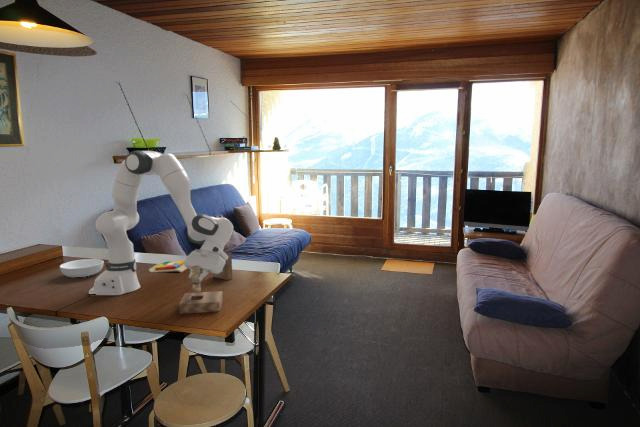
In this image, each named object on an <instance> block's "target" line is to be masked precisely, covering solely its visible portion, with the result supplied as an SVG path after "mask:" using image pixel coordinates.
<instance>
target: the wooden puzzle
mask: <svg viewBox="0 0 640 427" xmlns="http://www.w3.org/2000/svg"><path fill="white" fill-rule="evenodd" d="M184 261H185V260H176V261H175V260H173V261H165V262H164V261H161V262H159V263H156V265H153V266H152V267H150V268H149V269H148V272H149V273H171V272H179V273H183V272H184V271H185V270H187V269H188V268H187V267H185V266H184Z"/></svg>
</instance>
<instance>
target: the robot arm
mask: <svg viewBox="0 0 640 427" xmlns="http://www.w3.org/2000/svg"><path fill="white" fill-rule="evenodd" d="M115 175H116V176H115V180H114V183H113V184H114V185H113V187H112V192H111V197H112V200H113V201H114V206H113V207H114V208H113V210H110V211H106V212H104V213H102V214H100V215H99V216H98V217H97V218H96V220H95V229H96V230H97V232H98V233H99V234H100V235H101V236H102V237H103V239H104V240H105V244H106V245H107V246H106V247H107V252H108V260H107V261H106V263H105V264H103V267H104V268H105V270H104V271H103V272H101V273H100V274H99V275H98V276H97V277H96V278H95V280H94V282H93V287H91V288H90V290H88V295H89V294H96V295H95V296H121V295H123V294H127V293H131V292H136V291H138V290H139V289H140V288H141V284H140V281H139V278H138V275H137V262H136V259H135V251H134V250H135V249H134V243H133V242H132V241H131V240H130V239H129V237H128V233H127V231H129V230H131V229H133V228H135V226H137V225H138V223H139V222H140V215H139V213H138V211H137V210H138V207H137V202H138V197H139V192H140V189H141V185H142V179H143V177H145V176H151V175H155V176H156V175H157V176H159V178H160V180H161V182H162V184H163V186H164V187H165V188H166V191H167V192H168V193H169V195H170V197H171V199H172V200H173V202H174V204H175V205H176V208H177V209H178V211H179V214H180V216H181V218H182V220H183V222H184V223H185V227H186V235H187V238H188V241H190V242H191V243H192V244H195V245H196V244H197V245H201V247H200V248H199V249H198V248H196V249H194V250H192V251H191V252H190V253H189V254H188V255H187V257H186V258H185V260H183V261H184V266H185V267H187V269H189V270H190V271H189V275H188V278H189V279H191V266H200V272H202V273H200V275H198V277H197V279H198V280H200V281H201V282H202V281H203V279H204V278H205V277H206V276H207V275H209V273H211V274H213V273H215V274H219V273H220V272H221V271H222V270H223V267H224V265H225V263H226V261H225V260H227V259H228V256H227V255H226V252H224V248H225V245H226V244H227V243H228V242H229V241H230V238H231V237H232V234H233V231H234V225H233V223H232V221H231V220H229V219H228V218H227V217H224V216H223V217H214V216H210V215H207V214H204V213H199V214H197V213H196V212H197V211H195V208H194V207H193V204H192V201H191V190H192V189H191V188H192V185H191V184H192V183H191V180H190V178H189V175H188V173H187V172H186V169H185V168H184V167H183V165H182V163H181V162H180V161H179V160H178V159H177V157H176V156H175V155H174V154H173V153H171V152H170V153H168V152H167V153H163V152H161V151H153V150H134V151H133V150H132V151H130V152H129V153H128V154H127V155H126V157H125V159H124V160H123V161H121V164H120V165H119V167H118V171H117V173H116V174H115Z"/></svg>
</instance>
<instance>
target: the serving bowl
mask: <svg viewBox="0 0 640 427" xmlns="http://www.w3.org/2000/svg"><path fill="white" fill-rule="evenodd" d="M104 263H105V262H104V260H103V259H99V258H88V259H87V258H85V259H76V260H71V261H67V262H65V263H64V262H63V263H62V264H60V265H59V270H60V271H61V273H62V274H63V275H65V276H66V277H69V278H75V277H83V278H87V277H86V276H88V277H91V276H94V275H97V274H98V273H99V272H101V271H102V269H103V267H104V265H105V264H104ZM90 275H91V276H90Z"/></svg>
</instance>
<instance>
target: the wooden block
mask: <svg viewBox="0 0 640 427" xmlns="http://www.w3.org/2000/svg"><path fill="white" fill-rule="evenodd" d="M225 253H226V252H225ZM226 255H227V256H228V259H227V260H225V261H226V263H225V265H224V267H223V269H222V271H221V272H220V273H219V274H215V273H212V277H213V278H216V279H221V280H227V281H229V280H232V279H233V276H234V275H233V260H232V251H230V252H227V253H226Z"/></svg>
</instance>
